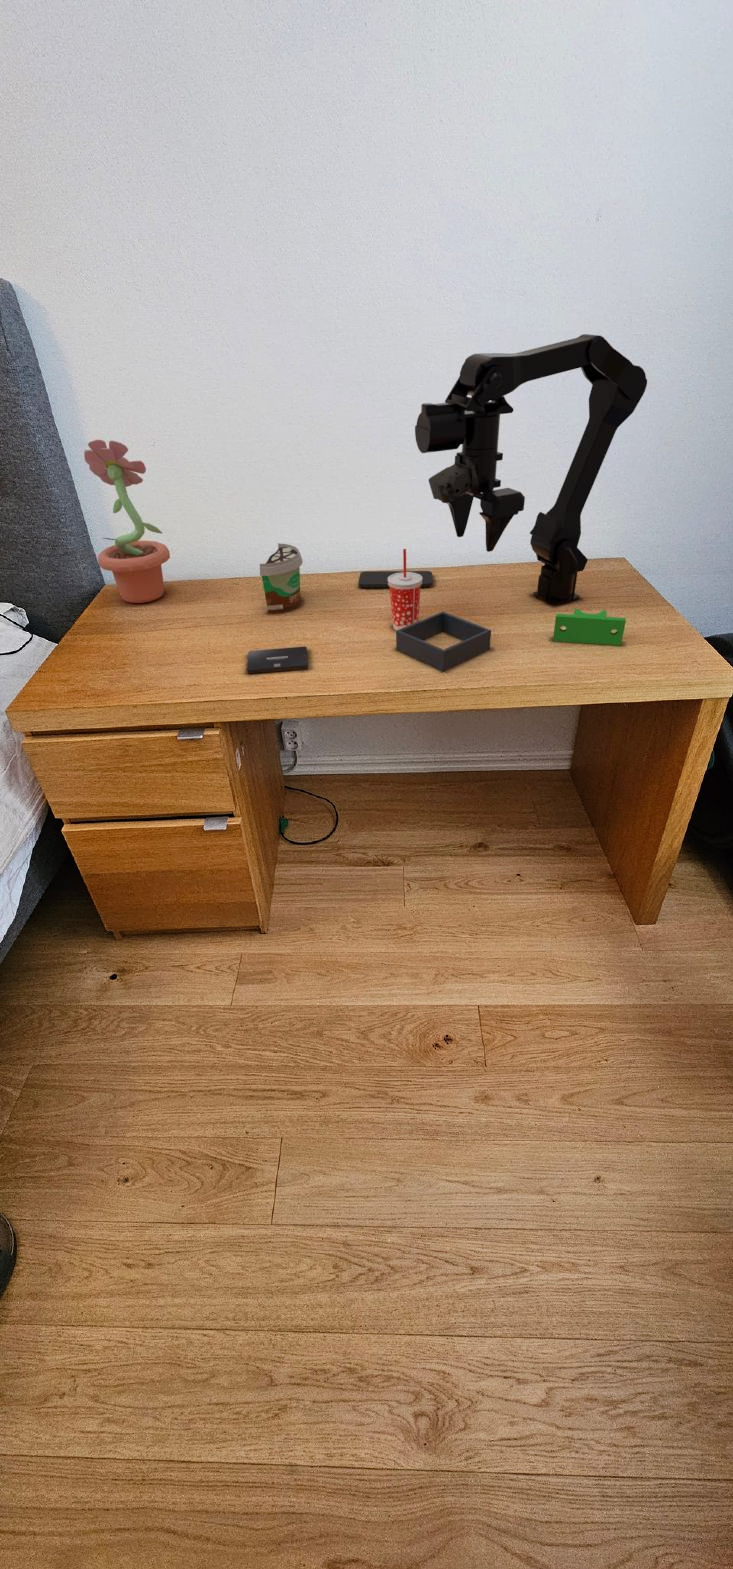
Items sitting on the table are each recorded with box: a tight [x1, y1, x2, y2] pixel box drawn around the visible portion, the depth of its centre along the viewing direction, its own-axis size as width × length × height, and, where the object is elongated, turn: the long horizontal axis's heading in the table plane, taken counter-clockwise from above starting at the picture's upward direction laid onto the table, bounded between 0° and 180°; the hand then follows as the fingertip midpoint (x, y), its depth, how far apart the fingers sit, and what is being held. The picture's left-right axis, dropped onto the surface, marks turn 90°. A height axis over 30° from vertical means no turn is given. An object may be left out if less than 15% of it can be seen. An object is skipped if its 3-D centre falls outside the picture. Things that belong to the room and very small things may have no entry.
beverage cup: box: [388, 548, 422, 631], centre depth 122 cm, size 6×6×14 cm
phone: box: [358, 570, 433, 589], centre depth 143 cm, size 7×1×15 cm
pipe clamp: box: [552, 608, 627, 646], centre depth 118 cm, size 11×4×5 cm, turn 76°
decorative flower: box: [83, 439, 171, 604], centre depth 134 cm, size 15×14×30 cm
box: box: [395, 611, 492, 672], centre depth 117 cm, size 11×11×4 cm
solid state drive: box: [246, 645, 309, 674], centre depth 117 cm, size 7×10×1 cm
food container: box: [259, 543, 304, 614], centre depth 134 cm, size 12×6×10 cm, turn 168°
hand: (474, 543), depth 121 cm, fingers open, 9 cm apart
